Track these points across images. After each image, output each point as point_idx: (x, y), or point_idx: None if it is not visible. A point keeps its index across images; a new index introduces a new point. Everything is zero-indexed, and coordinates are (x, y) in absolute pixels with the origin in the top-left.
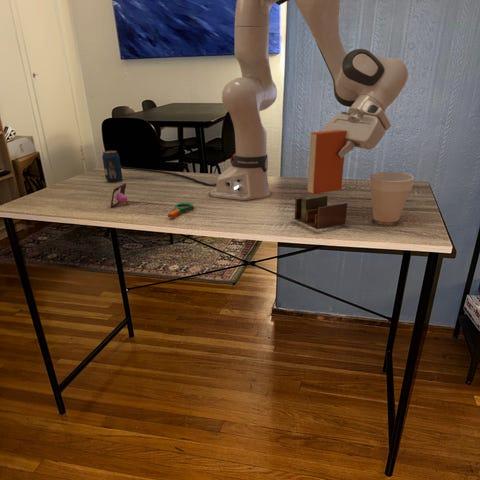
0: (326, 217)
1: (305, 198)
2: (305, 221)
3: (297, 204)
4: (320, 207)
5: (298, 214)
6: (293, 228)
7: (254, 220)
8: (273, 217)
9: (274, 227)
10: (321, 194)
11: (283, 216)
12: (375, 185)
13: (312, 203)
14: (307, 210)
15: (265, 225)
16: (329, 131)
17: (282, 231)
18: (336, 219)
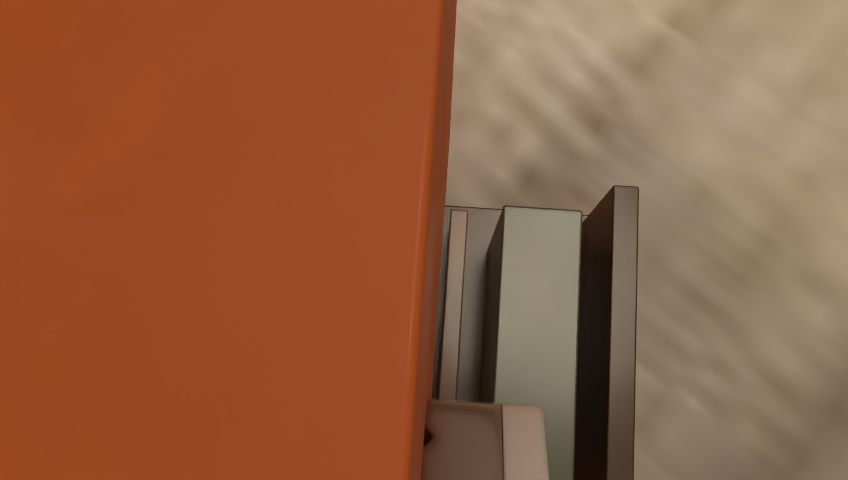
0: None
1: (543, 226)
2: (481, 243)
3: (602, 207)
4: None
5: (583, 242)
6: (476, 138)
7: (793, 27)
8: (782, 179)
9: (573, 48)
10: (571, 462)
11: (762, 257)
12: None
13: (495, 288)
14: (493, 245)
15: (647, 25)
16: (205, 101)
17: (470, 41)
18: None
